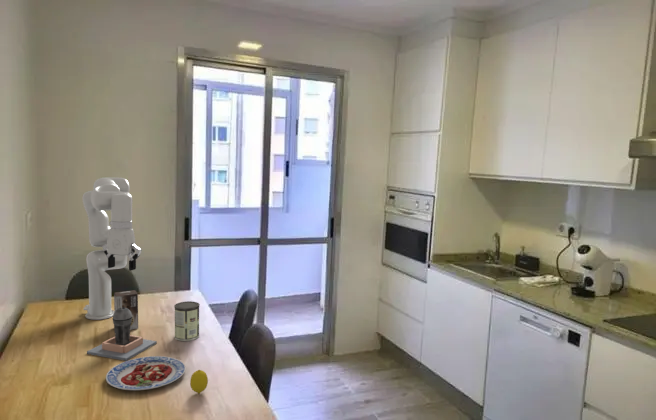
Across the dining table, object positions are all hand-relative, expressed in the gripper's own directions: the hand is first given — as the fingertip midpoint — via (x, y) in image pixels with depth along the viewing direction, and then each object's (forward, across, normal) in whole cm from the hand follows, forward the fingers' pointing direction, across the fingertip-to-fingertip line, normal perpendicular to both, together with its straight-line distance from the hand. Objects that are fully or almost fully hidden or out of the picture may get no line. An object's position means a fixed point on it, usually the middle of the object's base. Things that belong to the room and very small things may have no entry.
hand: (121, 268), depth 182 cm
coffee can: (+32, +17, +19) cm, 41 cm away
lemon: (+32, +48, -22) cm, 61 cm away
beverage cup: (+31, +1, 0) cm, 31 cm away
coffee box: (+33, -13, +18) cm, 40 cm away
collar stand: (+32, +1, -1) cm, 32 cm away
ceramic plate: (+33, +25, -18) cm, 45 cm away
